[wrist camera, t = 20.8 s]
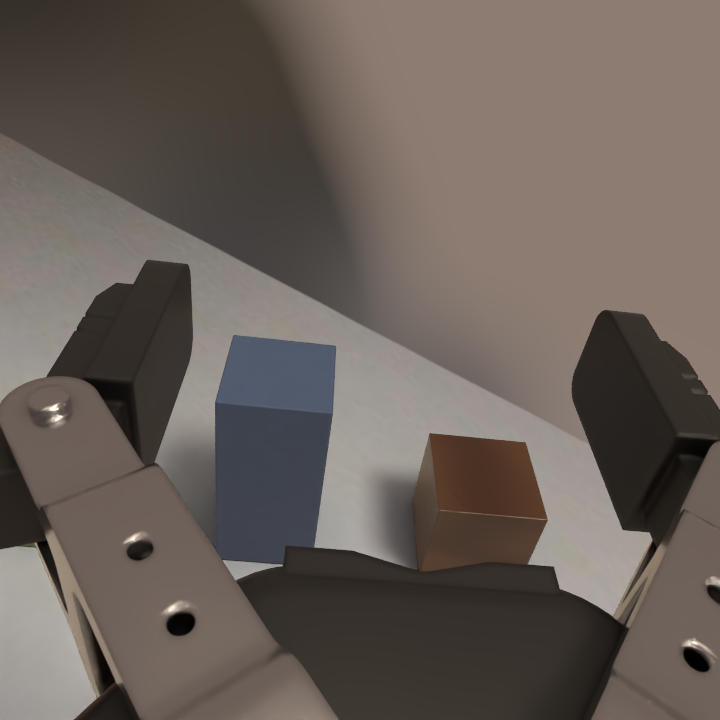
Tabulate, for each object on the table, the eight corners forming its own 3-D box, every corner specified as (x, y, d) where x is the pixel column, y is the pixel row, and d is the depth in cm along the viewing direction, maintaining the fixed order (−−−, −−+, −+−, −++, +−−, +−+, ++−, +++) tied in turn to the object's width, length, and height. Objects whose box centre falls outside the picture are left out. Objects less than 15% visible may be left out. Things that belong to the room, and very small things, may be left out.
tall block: (316, 494, 35) (336, 345, 29) (311, 566, 32) (332, 413, 26) (230, 486, 35) (233, 334, 29) (215, 559, 31) (214, 401, 25)
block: (500, 506, 36) (525, 442, 33) (518, 585, 32) (548, 520, 29) (412, 498, 36) (429, 432, 33) (418, 577, 32) (438, 510, 29)
